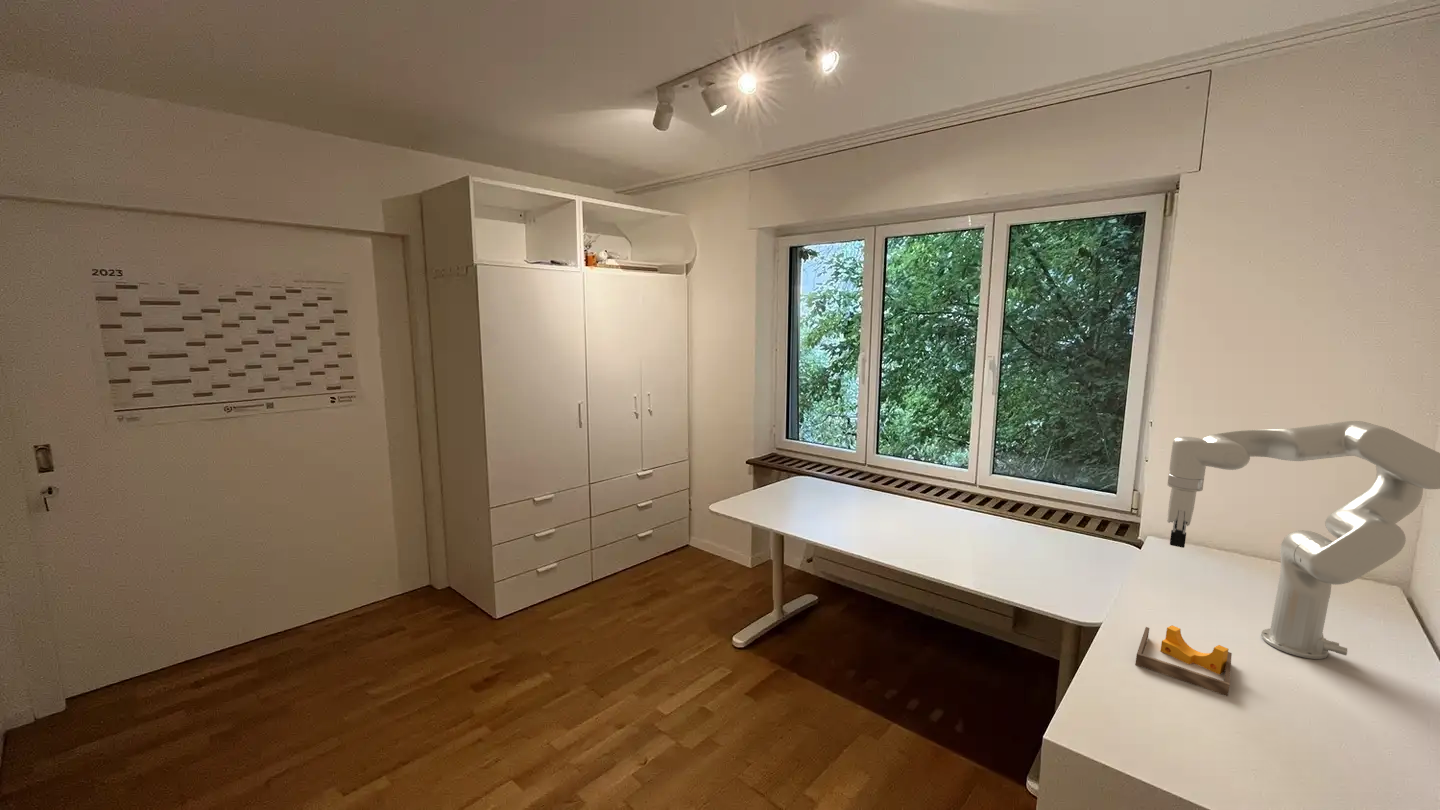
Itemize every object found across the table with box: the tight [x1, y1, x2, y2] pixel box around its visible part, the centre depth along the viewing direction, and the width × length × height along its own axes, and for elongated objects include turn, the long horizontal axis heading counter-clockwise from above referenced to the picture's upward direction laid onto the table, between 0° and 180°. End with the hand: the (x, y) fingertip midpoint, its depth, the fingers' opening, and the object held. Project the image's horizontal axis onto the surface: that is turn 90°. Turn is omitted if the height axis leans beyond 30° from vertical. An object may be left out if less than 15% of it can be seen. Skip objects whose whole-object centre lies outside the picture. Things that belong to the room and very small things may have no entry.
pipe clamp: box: [1160, 625, 1230, 676], centre depth 144 cm, size 12×4×6 cm, turn 28°
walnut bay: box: [1134, 626, 1233, 697], centre depth 143 cm, size 18×17×3 cm
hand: (1177, 545), depth 158 cm, fingers closed
